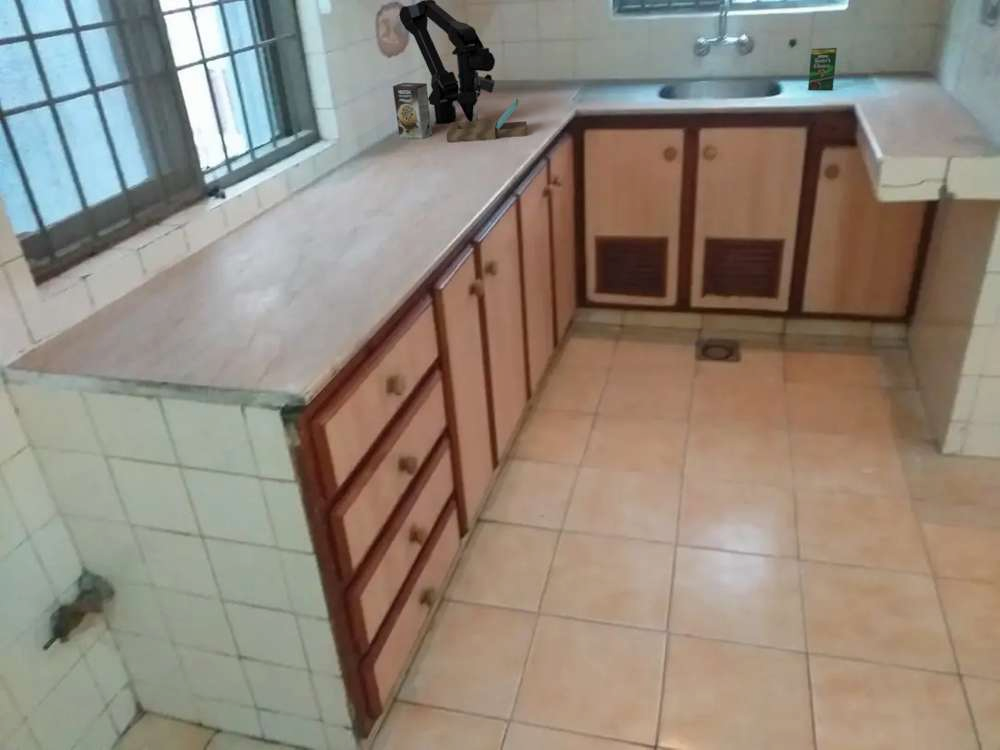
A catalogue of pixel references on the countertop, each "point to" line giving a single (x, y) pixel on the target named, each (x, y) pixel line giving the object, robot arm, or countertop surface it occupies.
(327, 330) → the countertop surface
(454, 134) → the socket block
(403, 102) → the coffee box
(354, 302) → the countertop surface
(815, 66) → the coffee box
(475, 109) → the peg
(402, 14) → the robot arm
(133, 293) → the countertop surface
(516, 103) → the latch flap
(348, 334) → the countertop surface
